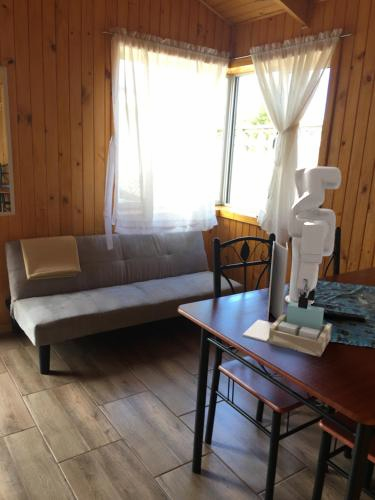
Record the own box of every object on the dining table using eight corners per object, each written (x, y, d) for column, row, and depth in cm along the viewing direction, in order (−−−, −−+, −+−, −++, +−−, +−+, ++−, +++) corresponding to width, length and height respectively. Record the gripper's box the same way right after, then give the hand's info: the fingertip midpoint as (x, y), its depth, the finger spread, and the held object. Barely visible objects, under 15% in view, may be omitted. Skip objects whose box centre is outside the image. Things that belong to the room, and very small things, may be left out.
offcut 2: (300, 343, 147) (302, 326, 146) (317, 347, 144) (319, 330, 143) (297, 347, 144) (299, 330, 142) (315, 352, 141) (317, 334, 139)
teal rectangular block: (288, 331, 157) (291, 301, 154) (320, 339, 151) (324, 308, 148) (284, 335, 153) (287, 304, 150) (317, 343, 147) (321, 311, 145)
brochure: (281, 324, 163) (288, 250, 155) (267, 322, 164) (273, 249, 156) (281, 310, 176) (287, 242, 169) (267, 309, 177) (273, 241, 170)
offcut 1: (280, 338, 151) (281, 321, 149) (296, 342, 148) (298, 325, 146) (276, 342, 147) (278, 325, 146) (293, 346, 145) (295, 329, 143)
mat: (258, 320, 165) (258, 319, 165) (280, 326, 161) (280, 324, 161) (242, 335, 152) (242, 334, 152) (266, 341, 147) (266, 340, 147)
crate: (281, 327, 159) (283, 313, 158) (330, 339, 151) (331, 323, 149) (268, 343, 146) (269, 327, 145) (320, 356, 138) (322, 340, 136)
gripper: (306, 251, 154) (302, 295, 157) (293, 260, 139) (288, 308, 143) (327, 254, 150) (322, 299, 154) (315, 264, 135) (310, 313, 139)
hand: (306, 303), depth 148 cm, fingers open, 9 cm apart
